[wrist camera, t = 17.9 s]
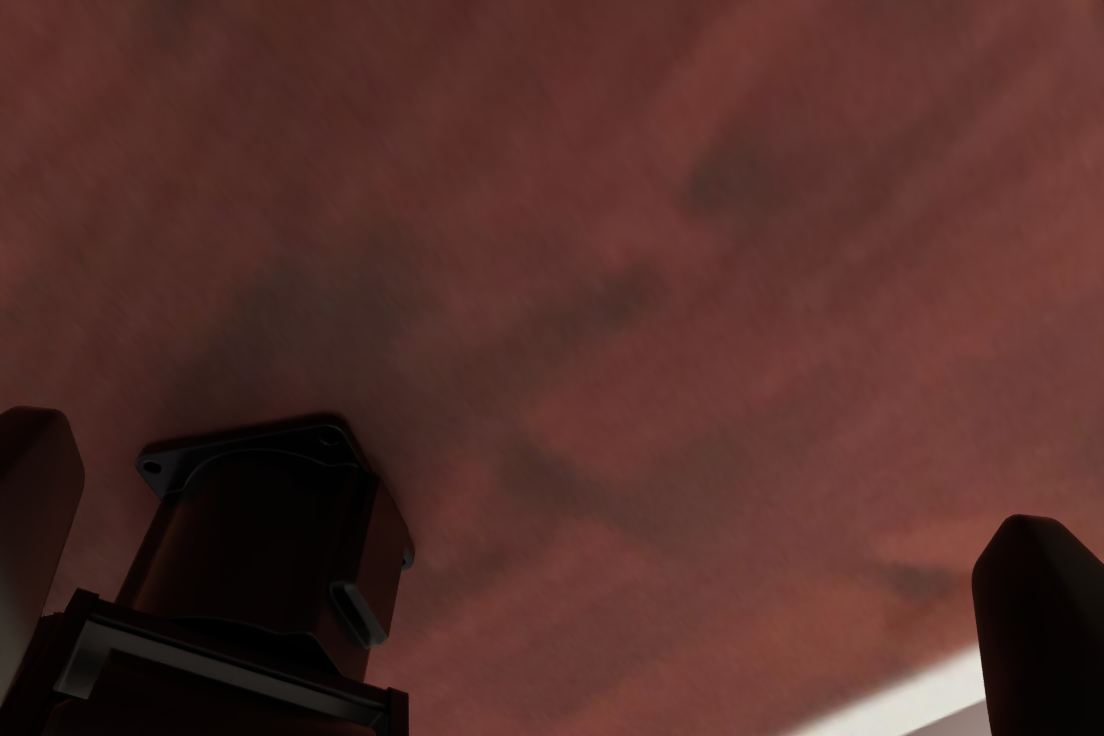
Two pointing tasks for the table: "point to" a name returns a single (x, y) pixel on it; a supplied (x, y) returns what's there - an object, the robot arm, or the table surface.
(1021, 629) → the robot arm
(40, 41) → the table surface
